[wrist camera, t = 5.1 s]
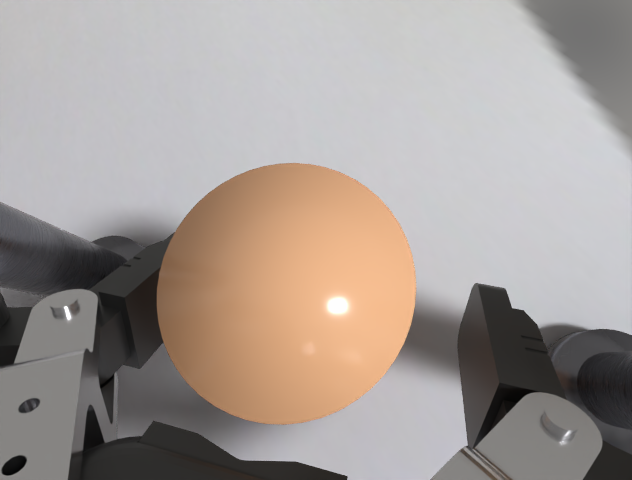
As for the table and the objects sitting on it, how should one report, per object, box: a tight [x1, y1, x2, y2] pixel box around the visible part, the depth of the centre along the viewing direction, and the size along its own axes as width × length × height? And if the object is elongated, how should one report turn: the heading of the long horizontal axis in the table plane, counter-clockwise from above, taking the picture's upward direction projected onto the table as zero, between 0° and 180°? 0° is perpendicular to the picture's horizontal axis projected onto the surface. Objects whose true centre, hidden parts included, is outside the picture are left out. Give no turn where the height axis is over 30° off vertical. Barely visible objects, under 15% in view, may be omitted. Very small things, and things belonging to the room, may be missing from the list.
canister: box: [157, 163, 416, 425], centre depth 11 cm, size 4×4×10 cm
